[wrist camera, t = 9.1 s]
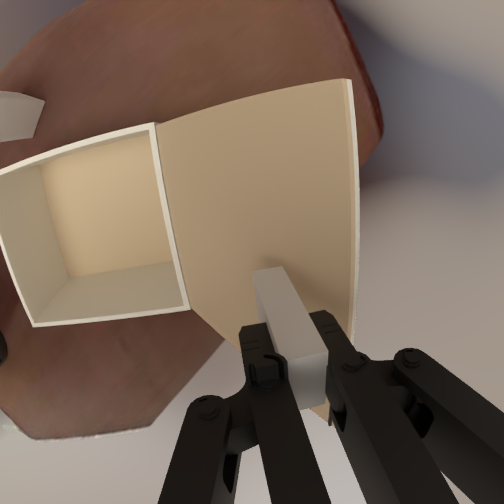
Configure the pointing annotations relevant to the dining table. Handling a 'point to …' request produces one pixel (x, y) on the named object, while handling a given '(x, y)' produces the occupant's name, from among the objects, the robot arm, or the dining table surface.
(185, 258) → the flap
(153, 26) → the dining table surface
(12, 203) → the carton
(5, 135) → the milk
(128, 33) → the dining table surface
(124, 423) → the dining table surface
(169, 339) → the dining table surface
